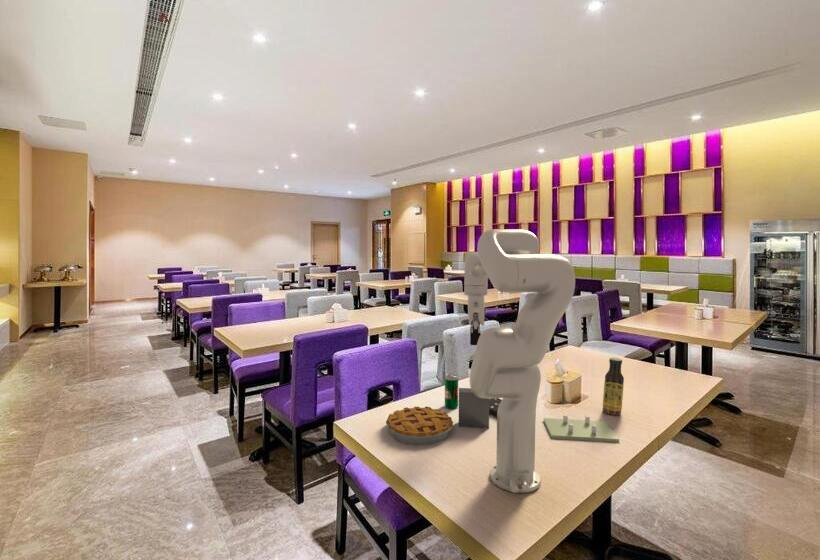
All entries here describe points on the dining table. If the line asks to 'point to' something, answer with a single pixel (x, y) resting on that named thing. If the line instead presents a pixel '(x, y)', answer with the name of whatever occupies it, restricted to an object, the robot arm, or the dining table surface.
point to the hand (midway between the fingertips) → (475, 341)
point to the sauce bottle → (613, 388)
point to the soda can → (451, 391)
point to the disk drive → (494, 406)
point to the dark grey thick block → (473, 410)
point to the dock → (580, 429)
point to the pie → (419, 425)
